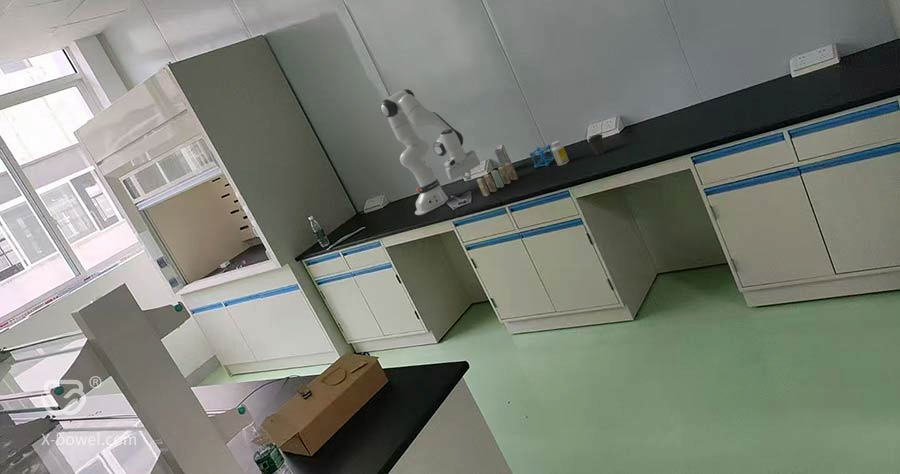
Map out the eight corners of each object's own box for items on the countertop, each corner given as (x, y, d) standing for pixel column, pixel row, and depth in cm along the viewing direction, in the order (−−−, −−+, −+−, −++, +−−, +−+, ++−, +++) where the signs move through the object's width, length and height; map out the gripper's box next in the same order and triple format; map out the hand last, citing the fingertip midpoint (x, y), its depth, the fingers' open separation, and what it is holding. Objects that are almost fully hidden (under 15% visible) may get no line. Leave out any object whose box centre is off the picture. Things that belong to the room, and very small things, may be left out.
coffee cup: (609, 151, 336) (603, 134, 333) (595, 157, 337) (588, 140, 334) (606, 148, 344) (599, 131, 341) (592, 155, 345) (585, 138, 342)
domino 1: (487, 196, 360) (480, 180, 357) (483, 195, 365) (476, 179, 362) (490, 194, 361) (483, 178, 358) (486, 194, 365) (479, 178, 362)
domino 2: (494, 191, 361) (487, 176, 359) (490, 191, 366) (483, 175, 363) (497, 190, 362) (490, 174, 359) (493, 189, 367) (486, 174, 364)
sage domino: (501, 187, 363) (494, 172, 360) (497, 187, 368) (490, 171, 365) (504, 186, 364) (497, 170, 361) (500, 185, 368) (493, 170, 365)
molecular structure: (557, 159, 369) (550, 143, 366) (548, 166, 362) (541, 150, 360) (543, 162, 376) (537, 146, 373) (534, 169, 370) (528, 153, 367)
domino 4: (515, 179, 366) (508, 164, 363) (511, 179, 371) (504, 164, 368) (518, 178, 367) (511, 162, 364) (513, 178, 371) (507, 162, 368)
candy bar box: (506, 170, 396) (496, 146, 392) (513, 167, 395) (503, 143, 390) (504, 175, 386) (494, 151, 382) (512, 172, 385) (502, 147, 380)
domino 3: (508, 183, 365) (501, 168, 362) (504, 183, 369) (497, 168, 366) (511, 182, 365) (504, 166, 362) (507, 182, 370) (500, 166, 367)
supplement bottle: (570, 159, 354) (562, 138, 351) (566, 164, 349) (558, 142, 346) (560, 162, 358) (551, 141, 355) (556, 167, 353) (547, 146, 350)
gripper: (471, 149, 359) (481, 171, 363) (441, 165, 353) (452, 187, 356) (476, 148, 353) (486, 170, 357) (445, 165, 347) (456, 188, 351)
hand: (468, 179), depth 357 cm, fingers closed
